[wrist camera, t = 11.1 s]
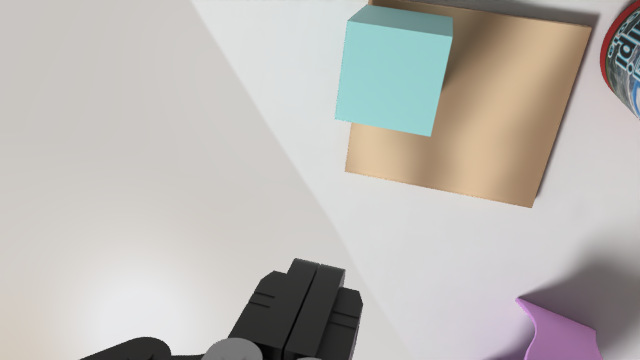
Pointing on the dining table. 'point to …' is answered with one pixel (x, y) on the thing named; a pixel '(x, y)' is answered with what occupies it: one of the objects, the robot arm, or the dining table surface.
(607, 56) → the beverage can
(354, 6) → the dining table surface
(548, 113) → the board
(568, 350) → the toy chair
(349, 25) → the aqua foam cube
